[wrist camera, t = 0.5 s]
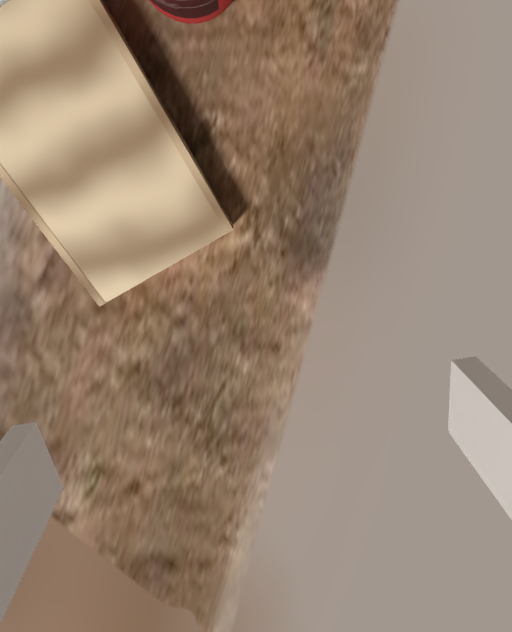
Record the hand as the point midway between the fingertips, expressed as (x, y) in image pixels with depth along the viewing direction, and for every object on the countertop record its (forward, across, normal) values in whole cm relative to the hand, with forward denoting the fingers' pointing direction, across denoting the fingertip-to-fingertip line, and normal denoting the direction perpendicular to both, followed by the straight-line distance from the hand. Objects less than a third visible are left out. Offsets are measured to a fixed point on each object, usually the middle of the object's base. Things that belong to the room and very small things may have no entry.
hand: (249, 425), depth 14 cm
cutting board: (+25, -10, +8) cm, 28 cm away
